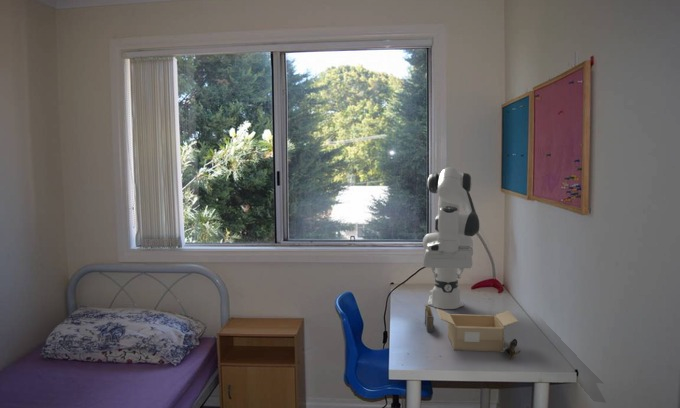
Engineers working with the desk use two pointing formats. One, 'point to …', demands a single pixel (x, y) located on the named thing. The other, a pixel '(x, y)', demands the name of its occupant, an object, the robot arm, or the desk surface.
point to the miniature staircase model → (429, 319)
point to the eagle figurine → (511, 349)
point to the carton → (476, 333)
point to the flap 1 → (445, 316)
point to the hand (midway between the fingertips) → (446, 277)
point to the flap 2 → (506, 318)
